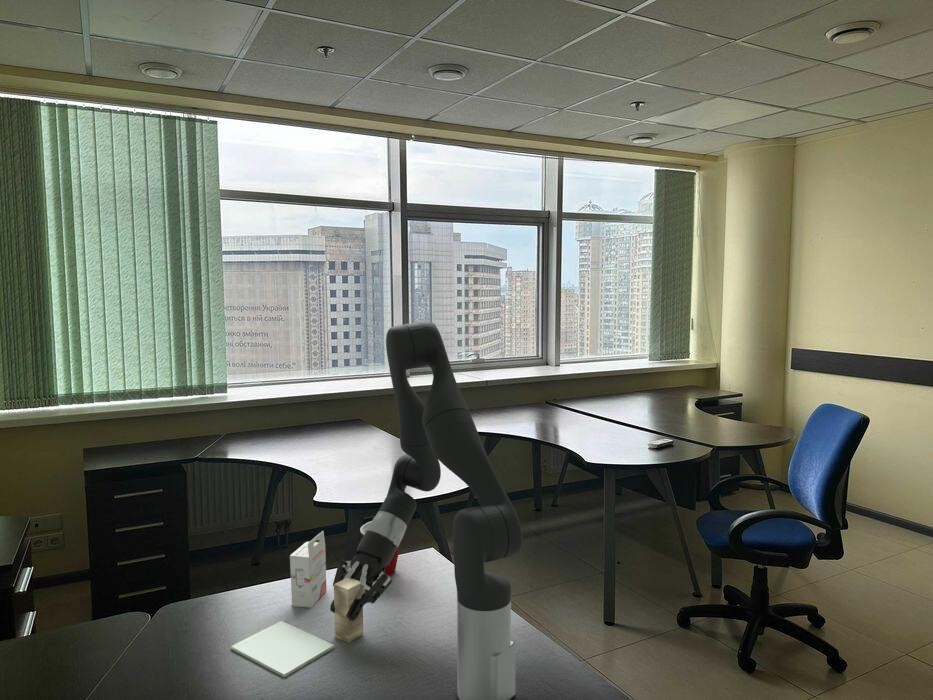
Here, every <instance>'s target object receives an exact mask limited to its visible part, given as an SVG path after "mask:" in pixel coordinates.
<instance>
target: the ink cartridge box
mask: <svg viewBox="0 0 933 700" xmlns="http://www.w3.org/2000/svg"><path fill="white" fill-rule="evenodd" d="M317 541H318V542H317ZM325 541H326V540H325V531H324V530H322V531H321V532H319V533H318V534H317V535H316V536H314V537H313V538H312V539H311V540H310V541H305V542H304V543H303V544H302V545H301V546H299V547H298V548H297V549H296V550H295V551H293V552H292V553H291V554H290V555H289V565H290V566H289V567H290V569H289V570H290V586H291V587H290V588H291V589H290V592H291V606H292V607H302V608H312V607H313V606H315V604H316V603H317V602H318V600H319V599H321V597H322V596H323V595H324V594H325V593H326V591H327V563H326V561H327V558H326V555H327V554H326V542H325Z"/></svg>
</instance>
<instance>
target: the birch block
mask: <svg viewBox="0 0 933 700" xmlns="http://www.w3.org/2000/svg"><path fill="white" fill-rule="evenodd" d="M360 584H361V583H360V581H358V580H355V579H352V578H346V579H344V580H342V581H340V582H337V583H335V584H334V586H333V600H334V606H335V613H333V614H334V637H335V638H337V639H339V640H342V641H344V642H346V643H351V642H352V641H354V640H356V639H358V638H359V637H361V636H363V635H364V607H363V608H362V610H361V612H360V614H359V615H358V617H357V618H356V619H355V620H354V621H351V620H349V619H348V618H347V617H346V614H347V612H348V611H349V609H350V607H351V605H352V603H353V601H354V599H357V594H358V591H359V589H360Z"/></svg>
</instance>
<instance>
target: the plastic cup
mask: <svg viewBox="0 0 933 700" xmlns="http://www.w3.org/2000/svg"><path fill="white" fill-rule="evenodd" d="M371 522H372V520H371V521H367V522H366V523H365V524H363V525H362V526H360V528H359V530H360V534H362V536H364V535H365V533H366V531H367V529H368V527H369V525H370V524H371ZM400 544H401V543H400ZM400 544H399V546H398V548H397V550H396V552H395V553H394V555H393V557H392V559H391V561H390V563H389V565H388V566H386V567H385V572H384V573H385V574H386V575H388V576H389V577H390V576H392V575H394V573H395V571H396V569H397V564H398V559H399V552H400V551H399V550H400Z"/></svg>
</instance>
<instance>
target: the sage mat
mask: <svg viewBox="0 0 933 700" xmlns="http://www.w3.org/2000/svg"><path fill="white" fill-rule="evenodd" d="M334 648H335V644H332V643H331V642H329V641H325V640H324V639H322V638H320V637H318V636H315V635H314V634H311V633H309V632H307V631H304V630H302V629H299V628H298V627H295V626H293V625H291V624H288V623H286V622H284V621H282V620H280V621H278V622H277V623H275V624H273V625H270V626H269V627H268V626H267V628H264V629H262V630H261V631H258V632H257V633H255V634H252V635H251V636H249V637H246V638H245V639H243V640H241V641H238V642H237V643H234V644H233V645H231V646H230V649H231V650H232V651H234V652H235V653H238V654H239V655H242V656H243V657H244V658H247V659H249V660H250V661H252V662H254V663H256V664H258V665H260V666H262V667H263V668H266V669H267V670H269V671H271V672H273V673H276V675H279V676H280V677H283V678H286V677H288V676H290V675H292V674H293V673H295V672H296V671H298V670H299V669H301V668H303V667H305V666H306V665H308V664H310V663H311V662H313V661H315V660H316V659H319V658H320V657H321V656H323V655H325V654H326V653H328V652H329V651H332V650H333V649H334Z"/></svg>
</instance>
